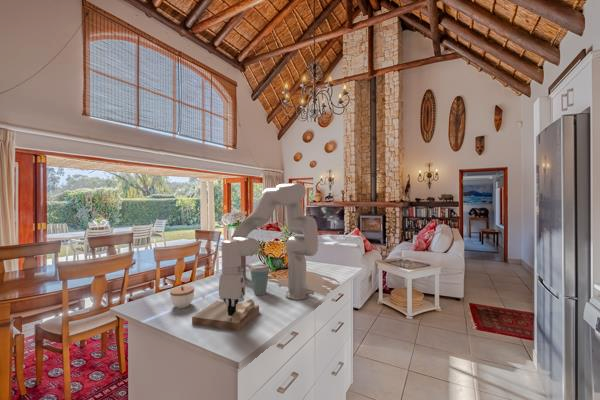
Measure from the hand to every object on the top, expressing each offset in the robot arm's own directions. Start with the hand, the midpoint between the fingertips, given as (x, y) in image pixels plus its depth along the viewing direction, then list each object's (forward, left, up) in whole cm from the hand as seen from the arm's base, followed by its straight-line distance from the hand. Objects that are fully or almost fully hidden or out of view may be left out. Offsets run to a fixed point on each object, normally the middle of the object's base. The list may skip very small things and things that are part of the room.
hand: (231, 314), depth 112 cm
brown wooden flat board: (+5, -5, -4) cm, 9 cm away
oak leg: (-3, -4, -1) cm, 5 cm away
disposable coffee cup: (+4, -37, -4) cm, 38 cm away
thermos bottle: (+28, -58, -4) cm, 65 cm away
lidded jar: (+33, -11, -4) cm, 35 cm away
